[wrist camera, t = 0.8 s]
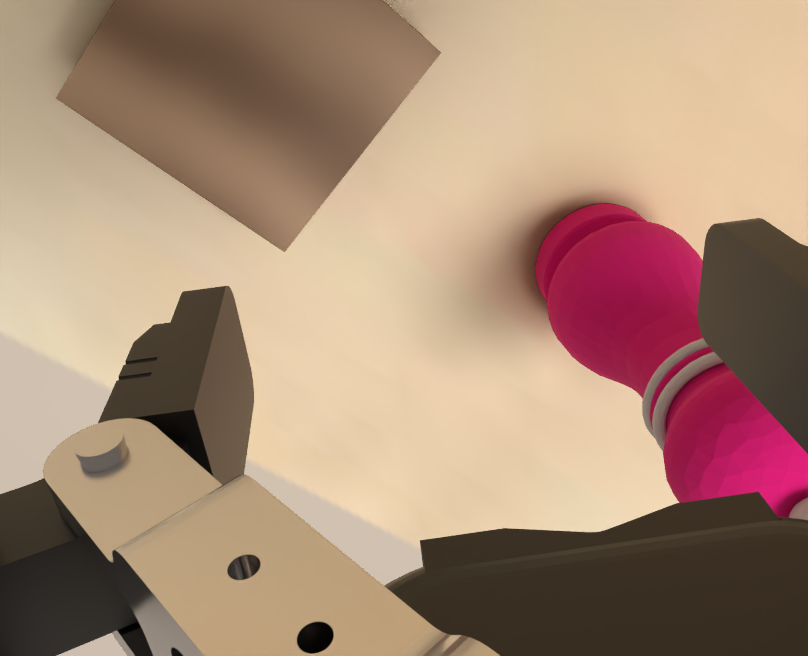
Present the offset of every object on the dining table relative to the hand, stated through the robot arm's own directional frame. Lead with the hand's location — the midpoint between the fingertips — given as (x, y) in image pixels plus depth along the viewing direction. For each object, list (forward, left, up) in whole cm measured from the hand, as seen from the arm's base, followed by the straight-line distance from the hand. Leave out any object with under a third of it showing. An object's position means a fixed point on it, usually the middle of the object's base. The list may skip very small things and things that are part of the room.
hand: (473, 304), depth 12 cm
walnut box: (+3, -4, -23) cm, 23 cm away
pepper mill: (-3, +14, -23) cm, 27 cm away
